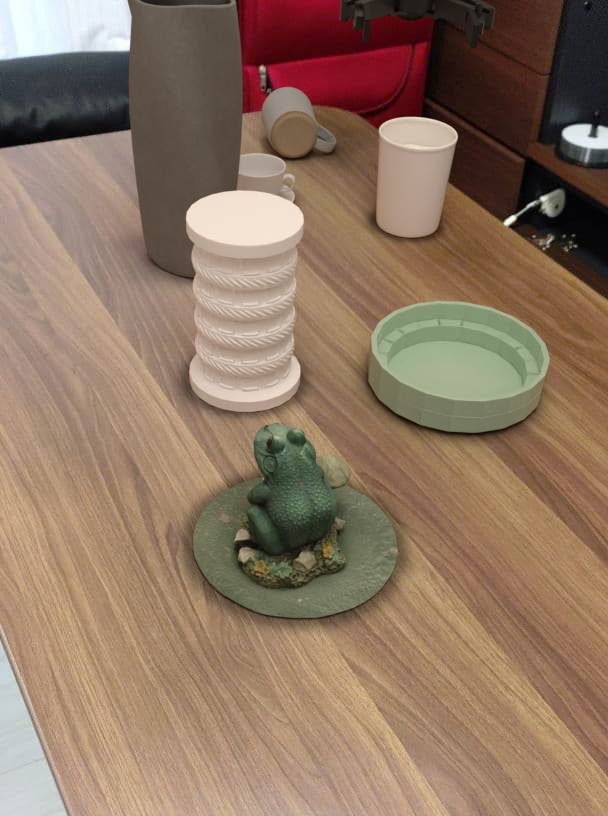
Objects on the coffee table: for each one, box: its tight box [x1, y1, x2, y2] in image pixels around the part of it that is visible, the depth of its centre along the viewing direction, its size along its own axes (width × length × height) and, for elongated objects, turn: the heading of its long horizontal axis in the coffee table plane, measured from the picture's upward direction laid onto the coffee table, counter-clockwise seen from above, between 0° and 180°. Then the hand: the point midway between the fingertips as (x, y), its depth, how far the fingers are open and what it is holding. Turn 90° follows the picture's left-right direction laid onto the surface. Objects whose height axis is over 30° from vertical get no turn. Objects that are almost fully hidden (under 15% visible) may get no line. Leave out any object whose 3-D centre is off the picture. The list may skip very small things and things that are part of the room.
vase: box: [127, 0, 244, 279], centre depth 109 cm, size 12×12×30 cm
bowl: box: [367, 300, 551, 434], centre depth 102 cm, size 18×18×4 cm
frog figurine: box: [192, 422, 399, 619], centre depth 81 cm, size 18×18×12 cm
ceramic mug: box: [260, 86, 337, 159], centre depth 141 cm, size 11×8×8 cm
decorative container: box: [186, 190, 305, 413], centre depth 96 cm, size 12×12×18 cm
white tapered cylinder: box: [375, 116, 459, 239], centre depth 125 cm, size 10×10×12 cm
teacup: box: [237, 152, 296, 203], centre depth 130 cm, size 10×10×5 cm
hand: (421, 34), depth 122 cm, fingers open, 13 cm apart
